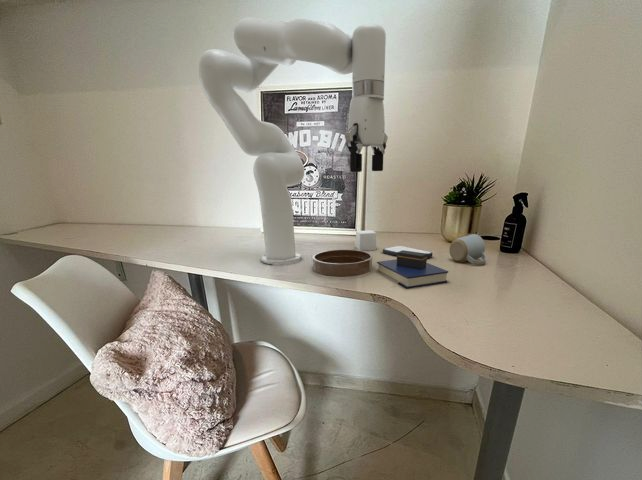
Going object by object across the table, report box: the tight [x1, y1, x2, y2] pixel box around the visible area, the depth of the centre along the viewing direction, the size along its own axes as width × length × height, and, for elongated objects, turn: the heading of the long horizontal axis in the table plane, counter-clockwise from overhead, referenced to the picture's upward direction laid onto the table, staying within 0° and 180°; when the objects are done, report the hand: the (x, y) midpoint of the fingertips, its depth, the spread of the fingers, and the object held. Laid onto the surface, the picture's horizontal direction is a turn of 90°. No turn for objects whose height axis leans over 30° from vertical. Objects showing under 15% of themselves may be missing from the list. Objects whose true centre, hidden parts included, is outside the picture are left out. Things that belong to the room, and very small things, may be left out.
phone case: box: [382, 245, 433, 259], centre depth 112 cm, size 9×2×16 cm
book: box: [376, 258, 449, 289], centre depth 89 cm, size 16×12×3 cm
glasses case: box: [396, 250, 428, 270], centre depth 88 cm, size 7×3×4 cm, turn 52°
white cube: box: [355, 229, 377, 251], centre depth 121 cm, size 6×6×6 cm
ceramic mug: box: [448, 233, 487, 266], centre depth 101 cm, size 11×8×8 cm
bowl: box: [312, 248, 374, 277], centre depth 97 cm, size 17×17×4 cm
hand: (367, 171), depth 86 cm, fingers open, 9 cm apart
